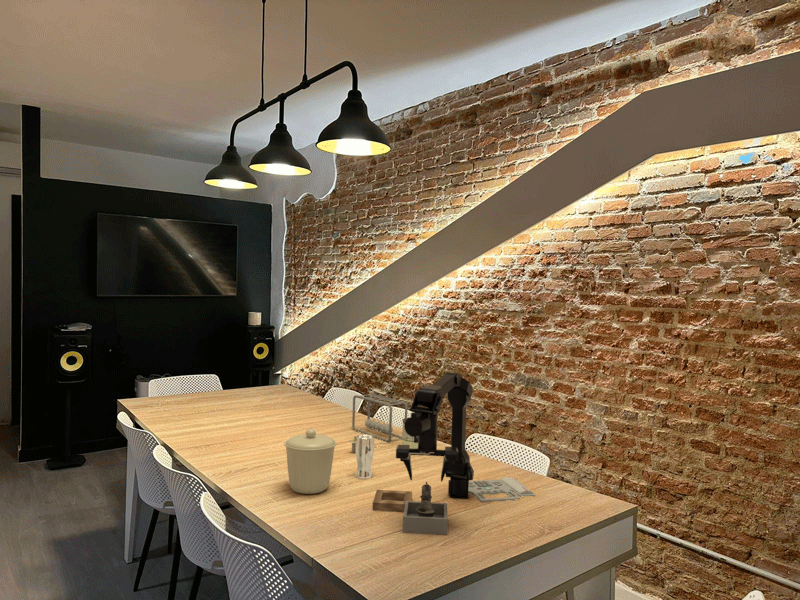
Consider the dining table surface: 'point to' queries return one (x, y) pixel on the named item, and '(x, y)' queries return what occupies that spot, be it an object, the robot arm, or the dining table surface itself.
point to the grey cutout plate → (498, 489)
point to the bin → (425, 519)
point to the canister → (309, 461)
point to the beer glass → (364, 455)
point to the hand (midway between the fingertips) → (426, 480)
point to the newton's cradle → (373, 423)
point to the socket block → (391, 495)
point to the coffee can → (408, 438)
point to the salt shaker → (425, 503)
